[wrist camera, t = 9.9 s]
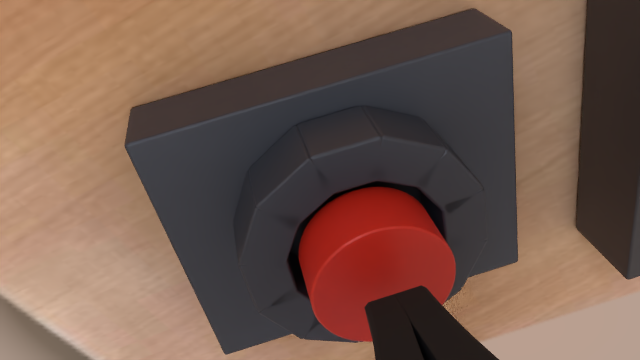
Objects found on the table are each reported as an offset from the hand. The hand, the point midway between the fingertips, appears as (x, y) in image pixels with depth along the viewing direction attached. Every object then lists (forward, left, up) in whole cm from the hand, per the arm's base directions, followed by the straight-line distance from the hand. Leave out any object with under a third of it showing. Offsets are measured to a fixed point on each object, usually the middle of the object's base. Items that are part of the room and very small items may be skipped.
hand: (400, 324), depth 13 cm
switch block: (0, 0, -7) cm, 7 cm away
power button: (0, 0, -3) cm, 3 cm away
